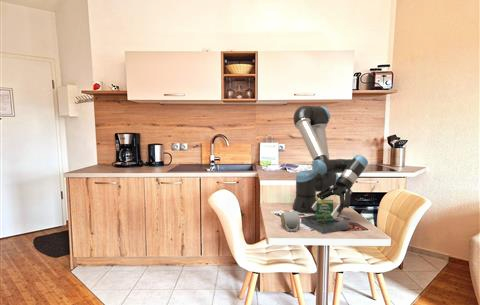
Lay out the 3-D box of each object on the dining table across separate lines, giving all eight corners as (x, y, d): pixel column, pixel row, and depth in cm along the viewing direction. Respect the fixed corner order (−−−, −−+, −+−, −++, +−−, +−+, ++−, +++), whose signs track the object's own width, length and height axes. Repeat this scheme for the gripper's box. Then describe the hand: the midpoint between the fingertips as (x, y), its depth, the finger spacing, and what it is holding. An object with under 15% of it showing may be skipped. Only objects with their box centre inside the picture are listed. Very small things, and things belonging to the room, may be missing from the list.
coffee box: (315, 225, 127) (316, 199, 126) (316, 223, 130) (316, 198, 129) (332, 227, 124) (333, 201, 123) (333, 226, 127) (333, 199, 126)
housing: (301, 222, 131) (301, 217, 131) (325, 218, 137) (325, 213, 137) (323, 234, 116) (323, 227, 116) (349, 228, 123) (349, 222, 122)
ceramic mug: (279, 224, 129) (280, 209, 128) (296, 224, 129) (296, 209, 128) (284, 232, 118) (284, 216, 117) (302, 232, 119) (302, 216, 118)
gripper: (371, 190, 121) (346, 225, 116) (332, 181, 143) (310, 210, 138) (363, 179, 118) (337, 215, 113) (325, 172, 141) (302, 202, 136)
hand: (322, 212), depth 126 cm, fingers open, 13 cm apart
